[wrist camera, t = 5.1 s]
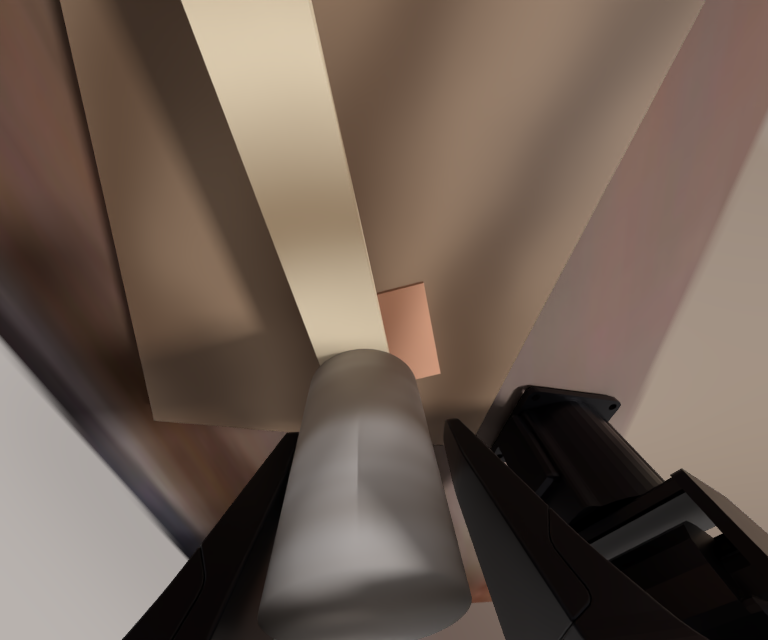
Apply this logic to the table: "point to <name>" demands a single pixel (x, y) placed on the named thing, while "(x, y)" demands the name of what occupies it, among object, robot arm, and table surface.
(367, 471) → the grey-ended beige bar
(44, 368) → the table surface
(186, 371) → the board
